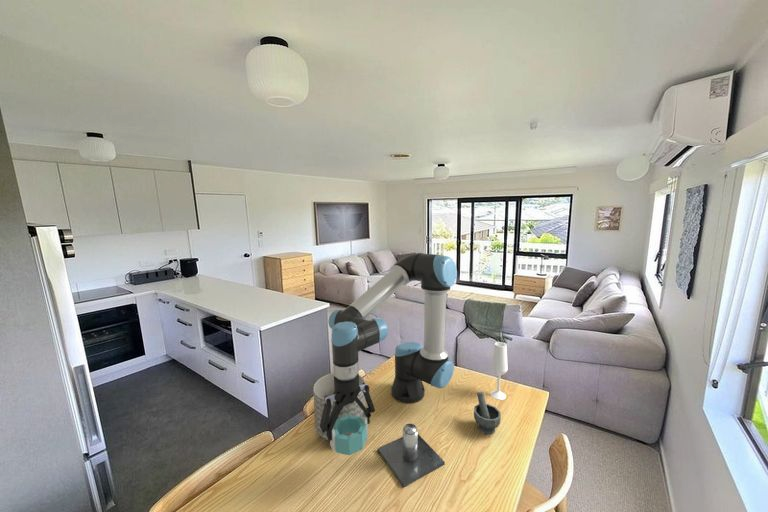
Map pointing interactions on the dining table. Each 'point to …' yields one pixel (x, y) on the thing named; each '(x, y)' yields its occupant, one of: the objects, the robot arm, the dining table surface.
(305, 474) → the dining table surface
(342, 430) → the ring
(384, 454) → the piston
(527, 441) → the dining table surface
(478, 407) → the mortar and pestle
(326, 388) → the planter
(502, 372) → the champagne flute
